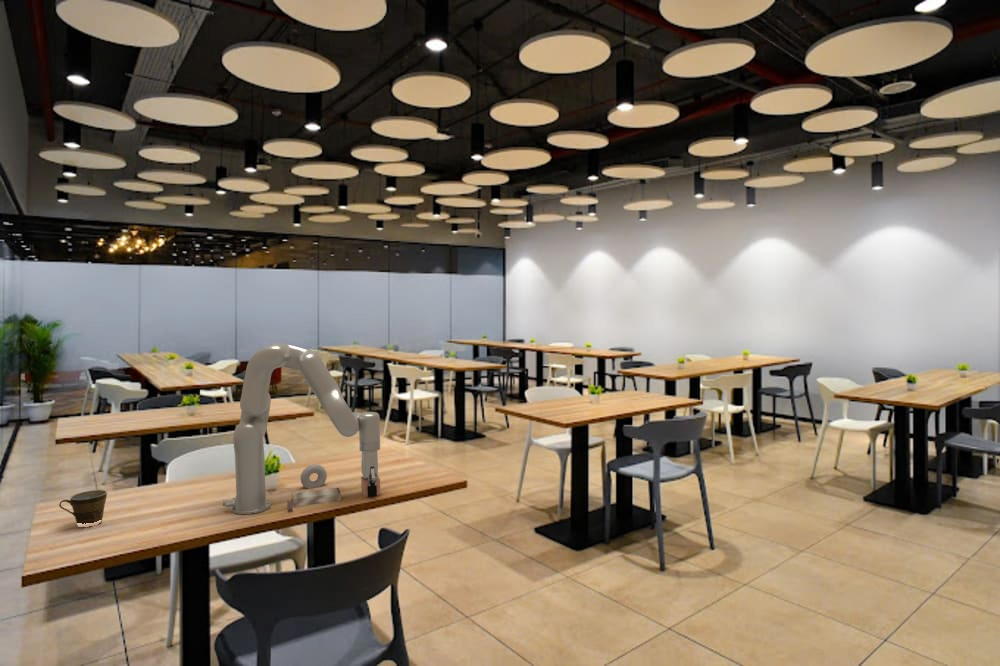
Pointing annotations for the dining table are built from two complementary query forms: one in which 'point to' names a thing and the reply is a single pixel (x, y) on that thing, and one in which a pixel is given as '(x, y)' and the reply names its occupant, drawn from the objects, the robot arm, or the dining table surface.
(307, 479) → the donut
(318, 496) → the board
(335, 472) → the dining table surface
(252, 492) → the robot arm
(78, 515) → the ceramic cup
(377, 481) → the taped shipping carton
